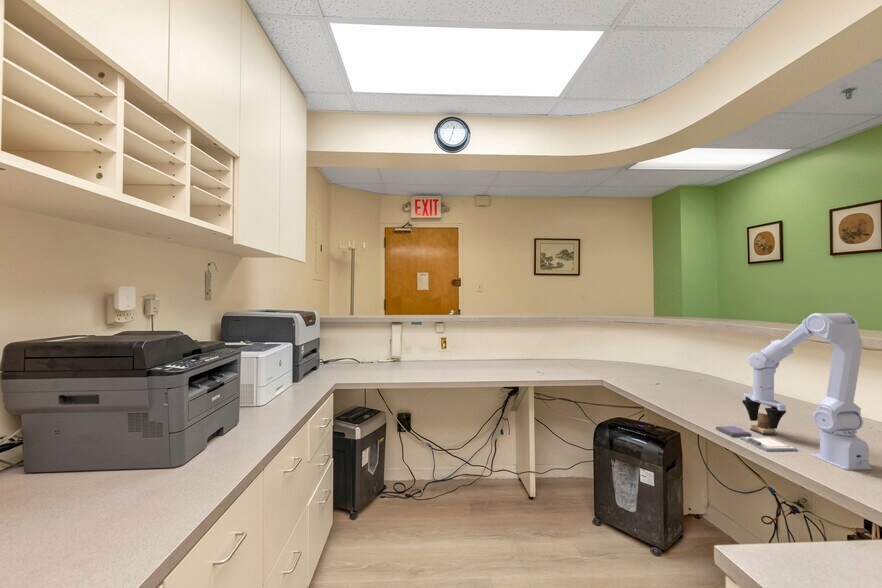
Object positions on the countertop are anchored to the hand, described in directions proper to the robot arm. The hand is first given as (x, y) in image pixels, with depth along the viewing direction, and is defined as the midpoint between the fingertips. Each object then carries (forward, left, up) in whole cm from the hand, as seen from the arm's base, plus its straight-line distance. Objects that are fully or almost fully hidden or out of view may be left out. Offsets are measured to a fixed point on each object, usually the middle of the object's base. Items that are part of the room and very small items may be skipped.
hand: (763, 424), depth 131 cm
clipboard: (-10, +8, -3) cm, 13 cm away
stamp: (0, 0, -3) cm, 3 cm away
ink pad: (0, +11, -3) cm, 11 cm away
